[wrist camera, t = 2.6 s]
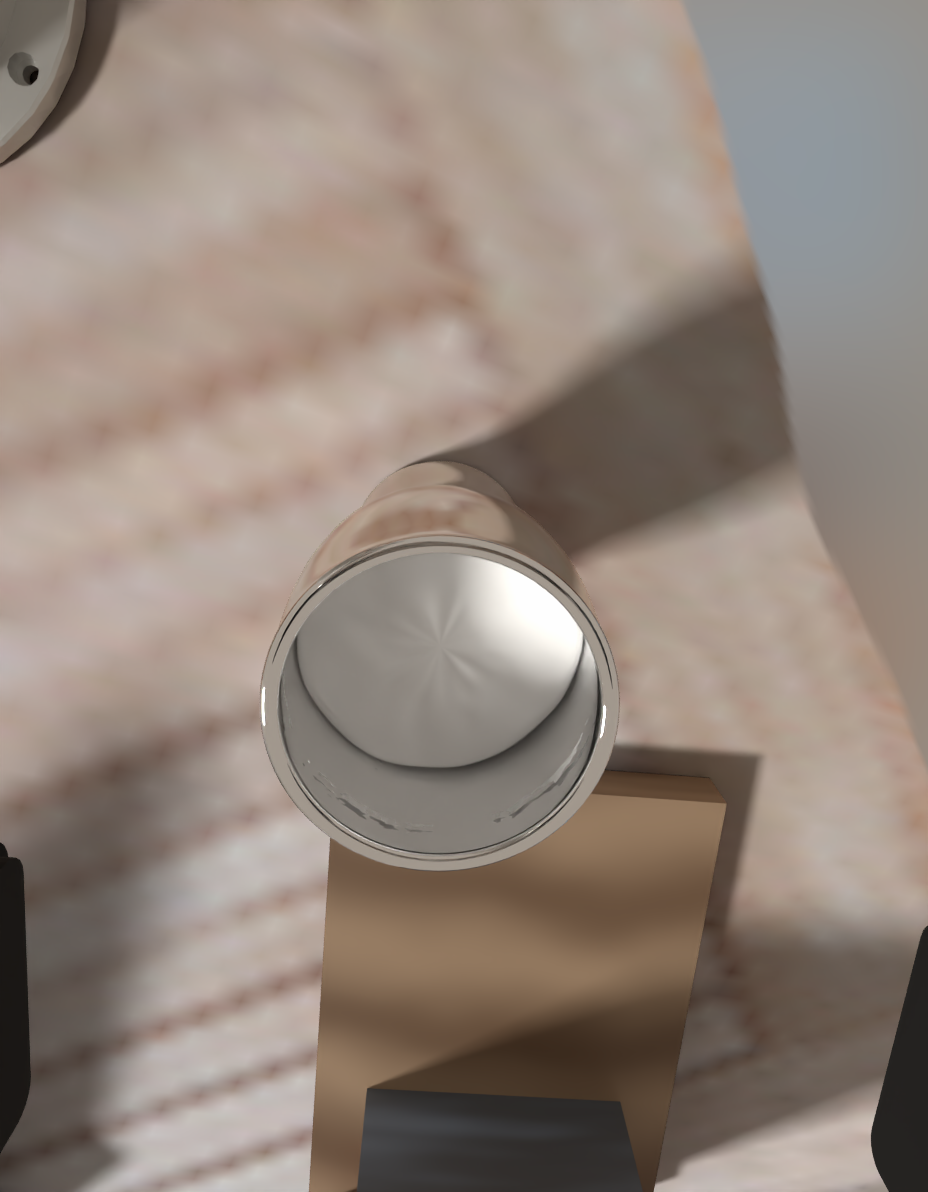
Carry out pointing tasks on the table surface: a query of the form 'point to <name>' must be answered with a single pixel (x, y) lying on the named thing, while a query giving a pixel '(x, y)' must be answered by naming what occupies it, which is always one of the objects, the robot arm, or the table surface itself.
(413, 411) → the table surface
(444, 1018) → the bookend with books
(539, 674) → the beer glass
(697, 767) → the table surface
